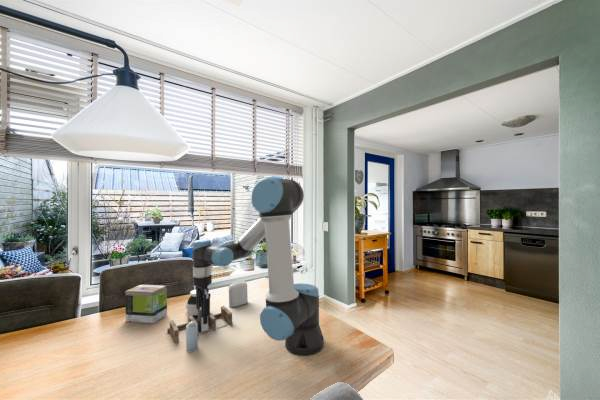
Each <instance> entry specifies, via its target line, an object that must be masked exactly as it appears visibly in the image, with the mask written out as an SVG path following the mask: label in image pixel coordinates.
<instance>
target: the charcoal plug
mask: <svg viewBox="0 0 600 400" xmlns="http://www.w3.org/2000/svg"><path fill="white" fill-rule="evenodd" d="M200 316H202V309H201V307H200V309H198V318H197V320H198V333H202V332H201V318H200ZM206 331H208V330H206ZM203 332H205V331H203Z"/></svg>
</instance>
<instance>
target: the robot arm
mask: <svg viewBox="0 0 600 400" xmlns="http://www.w3.org/2000/svg"><path fill="white" fill-rule="evenodd" d="M304 195H305V194H304V190H303V187H302V185H300V183H299V182H298V181H296V180H294V179H287V178H286V179H285V178H279V177H263V178H261V179H260V180H258V181H257V182H256V184H255V185H253V187H252V190H251V194H250V200H251V204H252V207H254V210H255V211H257V212H258V215H259V218H257V220H256V221H255V222H254V223H253V224H252V225H251V226H250V227H249V228H248V229H247V230H246V231H245V232H244V234H243V235H242V236H241V237H240V238H239V239H237V241H236V242H234V243H228V244H223V245H219V246H218V245H217V246H216V245H213V244H212V241H211V240H210V239H208V238H207V239H205V238H204V239H196V240H194V241H193V243H192V276H193V278H192V280H193V281H192V282H193V283H192V284H193V286H194V287H195V288H194V290H195V289H196V308H197V309H200V307H201V309H202V316H200V318H201V332H200V333H202V332H203V331H206V330H207V331H208V330H209V326H208V316H210V313H211V293H210V291H209V288H208V286H209V285H211V284H212V283H213V282H212V281H213V277H212V269H213V265H214V266H218V267H227V266H229V265H230V264H231V263H232V262H233V261H237V260H241V259H245V258H247V257H250V256H251V255H252V254H253V252H254V248H255V247H257V245H259V243H260V242H262V241H263V240H264V239H265V249H266V251H265V252H266V263H267V273H268V274H267V275H268V288H269V291H268V292H267V294H266V295H265V307H264V308H263V309H262V311H261V312H260V314H259V322H260V325H261V327H262V330H263V331H264V333H266V335H267V336H268V337H269V338H270V339H273V340H275V341H285V343H284V345H285V348H286V350H287V351H288V352H289V353H291V354H294V355H297V356H303V357H304V356H305V357H307V356H309V357H310V356H313V355H316V354H318V353H319V352H321V351H322V350H323V349H324V343H325V342H324V341H325V340H324V336H323V332H322V329H321V327H320V294H319V293H320V291H319V288H318V287H317V286H316V285H313V284H309V283H295V282H294V269H293V256H292V255H293V254H292V245H291V244H292V243H291V234H290V233H291V232H290V220H291V218H292V217H293V215H294V213H295V212H296V211H297V210H298V209H299V208H300V206H301V205H302V203H303V201H304V199H305V198H304Z"/></svg>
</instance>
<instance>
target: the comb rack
mask: <svg viewBox="0 0 600 400" xmlns="http://www.w3.org/2000/svg"><path fill="white" fill-rule="evenodd" d="M220 318H222V319H223V321H224V322H225V323H226V324H224V325H221V326H218V327H217V321H216V320H217V319H220ZM187 319H188V321H187V322H185V323H182V324H179V325H177V324H176V322H175V320H169V328H167V332H166V333H167V334H170V336H171V339H172V338H173V339H172V340H173V342H174V344H177V343H180V340H179V338H180V337H179V336H180V335H179V334H180V330H184V329H186V325H188V323H189V322H191V321H195V323H197V334H198V335H200V336H201V335H203V334H206V333H209V332H212V331H216V330H218V329H221V328H225V327H228V326H230V325H231V326H232V325H233V313H232V312H231V311H230V310H229V309H228V308H227V307H226V306H225V305H223V306H220V313H215V314H212V312H210V316H208V328H210V329H208V330H207V331H205V332H198V319H195V318H193V316H192V315H190V316H189V315H187Z"/></svg>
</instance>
